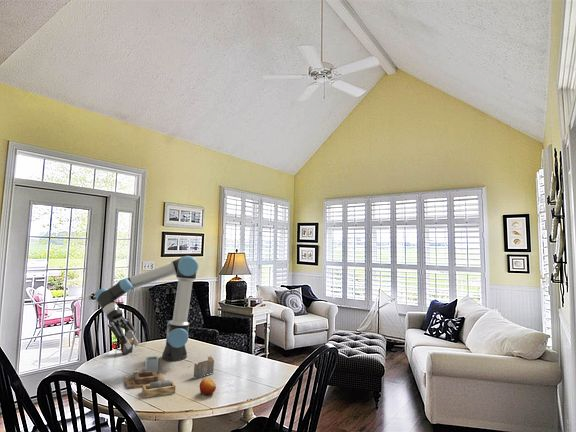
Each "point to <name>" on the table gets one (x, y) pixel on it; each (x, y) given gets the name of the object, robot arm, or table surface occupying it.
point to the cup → (151, 363)
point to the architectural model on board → (204, 367)
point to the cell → (129, 335)
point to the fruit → (207, 386)
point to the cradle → (142, 379)
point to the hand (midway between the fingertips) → (133, 346)
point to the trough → (158, 388)
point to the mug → (121, 346)
